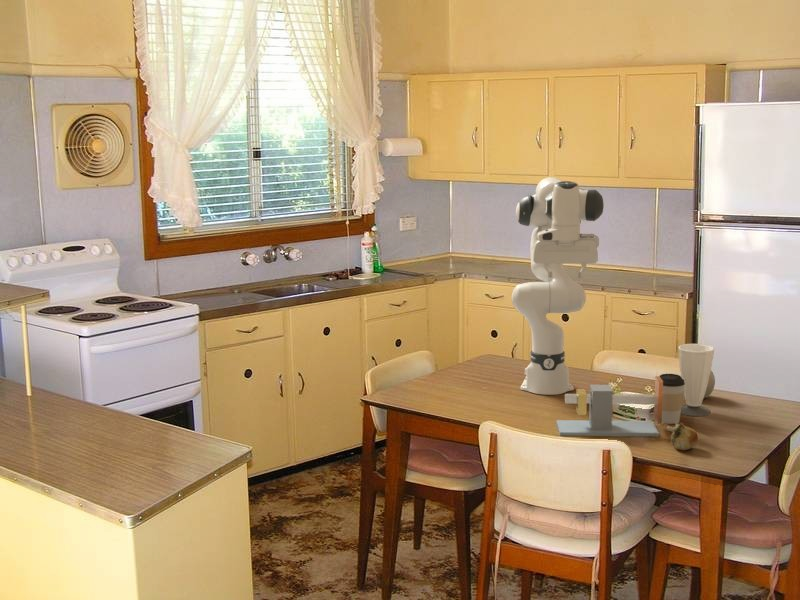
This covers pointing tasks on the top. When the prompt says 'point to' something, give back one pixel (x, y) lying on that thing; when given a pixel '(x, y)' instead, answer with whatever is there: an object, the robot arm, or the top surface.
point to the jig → (604, 419)
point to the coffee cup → (672, 398)
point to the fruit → (710, 385)
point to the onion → (683, 437)
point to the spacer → (581, 401)
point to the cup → (695, 376)
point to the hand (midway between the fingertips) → (564, 277)
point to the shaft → (633, 399)
